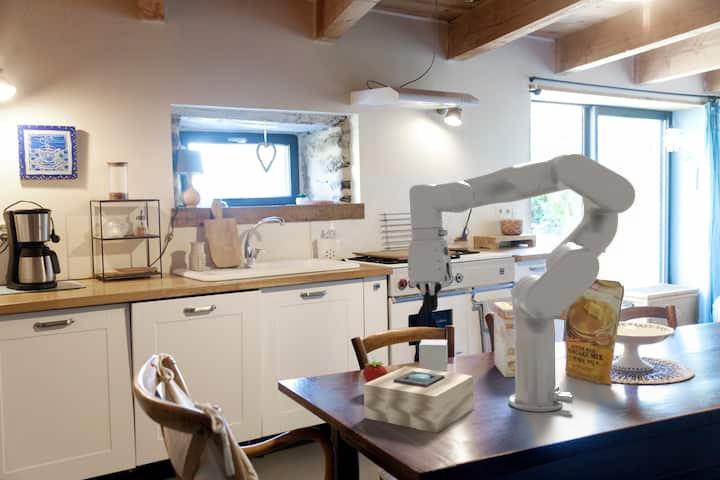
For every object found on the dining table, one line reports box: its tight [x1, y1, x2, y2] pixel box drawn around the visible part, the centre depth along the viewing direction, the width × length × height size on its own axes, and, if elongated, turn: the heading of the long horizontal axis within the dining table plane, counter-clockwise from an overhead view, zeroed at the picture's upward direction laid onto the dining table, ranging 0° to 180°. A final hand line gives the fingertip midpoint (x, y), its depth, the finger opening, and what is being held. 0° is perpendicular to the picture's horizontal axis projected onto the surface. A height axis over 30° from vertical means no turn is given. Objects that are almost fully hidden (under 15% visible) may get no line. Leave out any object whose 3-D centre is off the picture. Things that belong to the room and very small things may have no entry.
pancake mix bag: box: [564, 278, 625, 386], centre depth 173 cm, size 7×19×28 cm, turn 27°
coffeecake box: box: [493, 301, 515, 378], centre depth 184 cm, size 15×7×20 cm, turn 179°
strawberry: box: [363, 356, 388, 383], centre depth 165 cm, size 6×8×10 cm
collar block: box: [363, 365, 475, 433], centre depth 148 cm, size 19×19×9 cm
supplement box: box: [418, 339, 449, 372], centre depth 168 cm, size 7×7×13 cm
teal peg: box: [409, 374, 430, 382], centre depth 148 cm, size 5×5×7 cm
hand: (431, 310), depth 151 cm, fingers closed
